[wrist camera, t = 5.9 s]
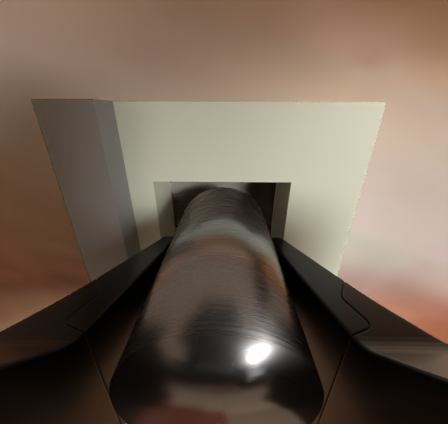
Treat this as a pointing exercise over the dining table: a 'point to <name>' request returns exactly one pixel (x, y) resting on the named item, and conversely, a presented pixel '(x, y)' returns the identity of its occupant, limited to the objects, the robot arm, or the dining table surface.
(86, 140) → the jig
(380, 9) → the dining table surface
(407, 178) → the dining table surface
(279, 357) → the metal cylinder rod
